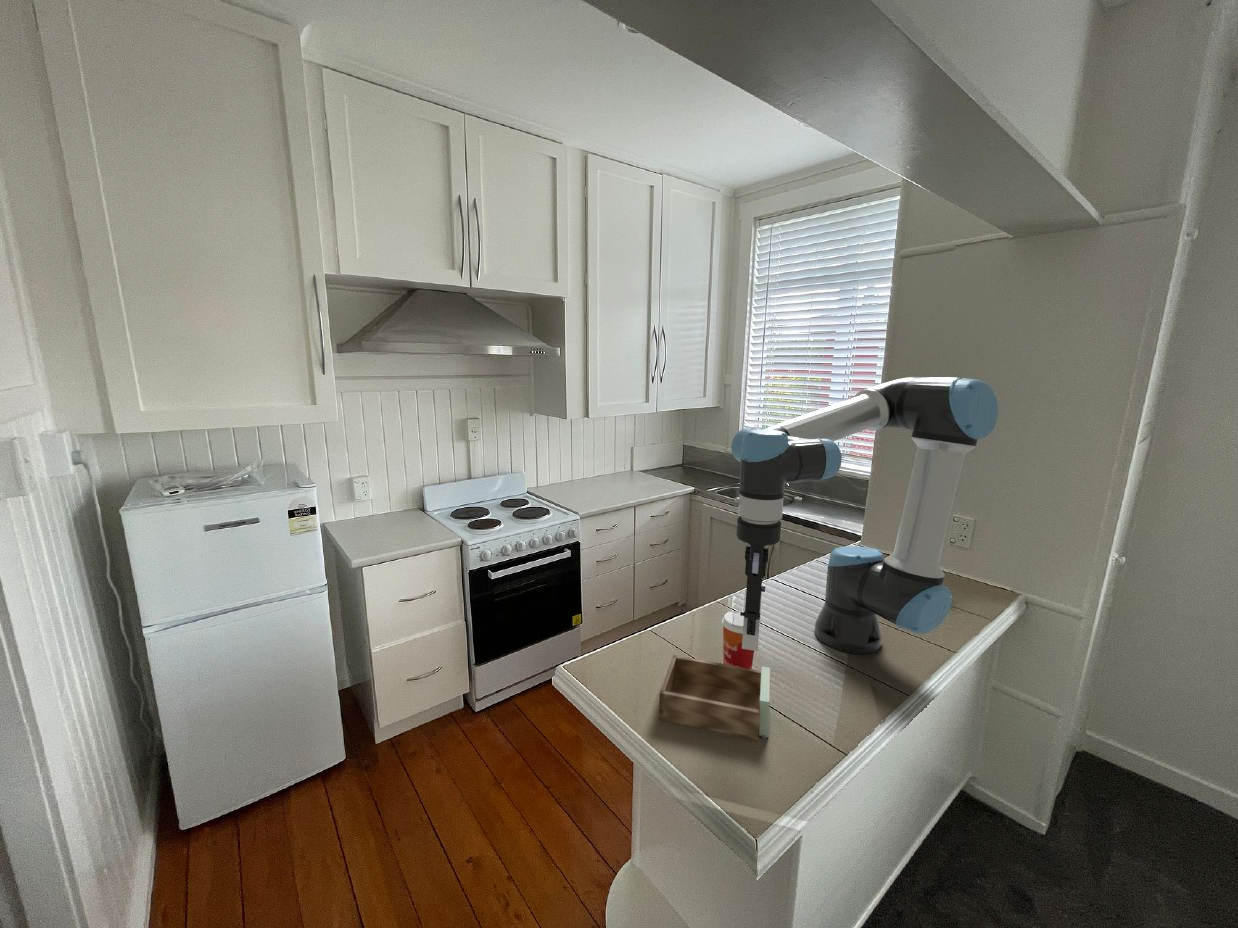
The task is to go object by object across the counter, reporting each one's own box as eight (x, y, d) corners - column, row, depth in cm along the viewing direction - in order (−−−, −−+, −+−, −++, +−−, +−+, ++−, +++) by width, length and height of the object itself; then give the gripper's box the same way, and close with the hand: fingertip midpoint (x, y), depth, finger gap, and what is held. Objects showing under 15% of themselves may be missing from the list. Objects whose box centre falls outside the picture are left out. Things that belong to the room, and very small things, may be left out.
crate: (759, 699, 102) (762, 670, 101) (757, 745, 90) (760, 712, 89) (672, 682, 107) (673, 654, 106) (658, 723, 95) (659, 692, 94)
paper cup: (714, 667, 113) (717, 609, 110) (748, 666, 113) (752, 608, 111) (724, 690, 105) (728, 628, 102) (760, 688, 106) (765, 627, 103)
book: (769, 701, 101) (770, 666, 99) (768, 740, 90) (769, 702, 89) (761, 700, 101) (761, 665, 100) (759, 739, 91) (759, 701, 89)
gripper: (741, 501, 100) (734, 607, 104) (732, 534, 80) (724, 663, 85) (781, 504, 98) (772, 612, 102) (782, 540, 78) (771, 672, 82)
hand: (750, 635), depth 93 cm, fingers open, 8 cm apart
